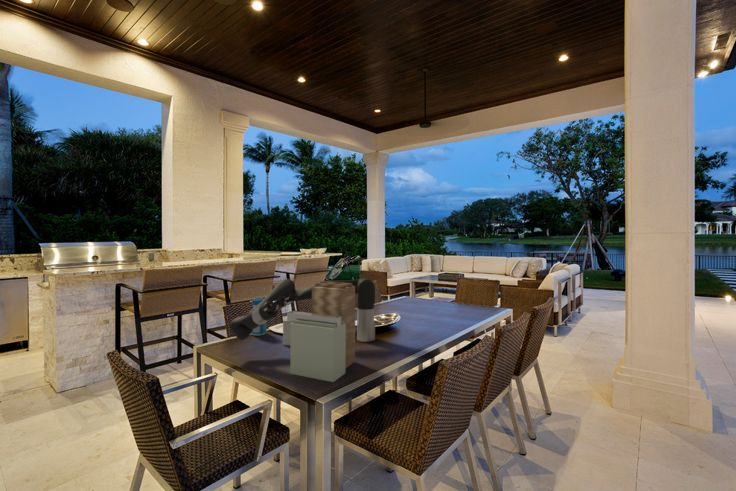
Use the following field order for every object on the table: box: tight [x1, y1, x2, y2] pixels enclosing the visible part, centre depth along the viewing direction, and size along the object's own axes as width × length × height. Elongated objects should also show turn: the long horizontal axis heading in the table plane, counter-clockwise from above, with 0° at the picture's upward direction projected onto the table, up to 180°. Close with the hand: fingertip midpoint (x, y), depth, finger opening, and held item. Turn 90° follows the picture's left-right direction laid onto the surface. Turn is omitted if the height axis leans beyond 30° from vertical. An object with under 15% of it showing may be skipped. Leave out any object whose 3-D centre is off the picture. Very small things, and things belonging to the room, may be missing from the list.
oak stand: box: [311, 282, 356, 369], centre depth 156 cm, size 15×12×36 cm
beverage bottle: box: [250, 297, 267, 337], centre depth 203 cm, size 8×8×20 cm
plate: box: [268, 322, 283, 335], centre depth 213 cm, size 27×27×2 cm
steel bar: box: [286, 310, 341, 327], centre depth 145 cm, size 24×4×4 cm, turn 65°
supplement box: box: [282, 318, 292, 346], centre depth 185 cm, size 7×7×13 cm
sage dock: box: [289, 320, 346, 383], centre depth 145 cm, size 20×10×22 cm, turn 65°
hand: (290, 297), depth 153 cm, fingers open, 8 cm apart
